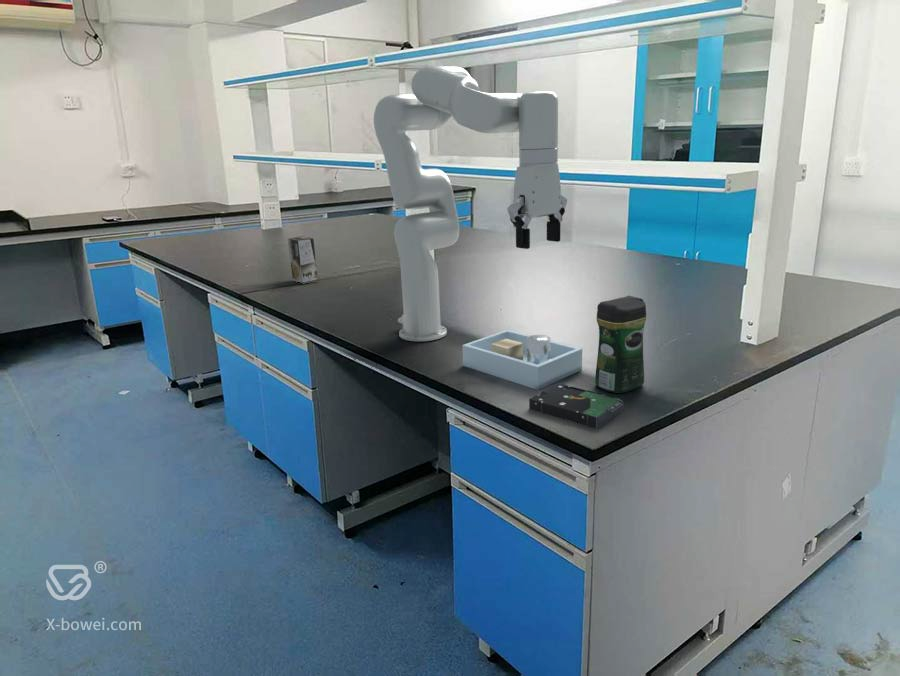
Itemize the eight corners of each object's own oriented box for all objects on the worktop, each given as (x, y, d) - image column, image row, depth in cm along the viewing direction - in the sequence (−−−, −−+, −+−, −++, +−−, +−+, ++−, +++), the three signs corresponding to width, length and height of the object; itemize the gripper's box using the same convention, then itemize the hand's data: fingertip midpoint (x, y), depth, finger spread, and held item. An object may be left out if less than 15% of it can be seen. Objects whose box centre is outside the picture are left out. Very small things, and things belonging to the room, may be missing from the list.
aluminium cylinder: (522, 369, 143) (522, 338, 141) (537, 363, 146) (537, 333, 144) (540, 374, 139) (540, 343, 137) (555, 368, 143) (555, 337, 141)
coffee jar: (621, 375, 140) (625, 290, 134) (650, 386, 133) (655, 298, 128) (587, 385, 135) (589, 298, 130) (615, 397, 129) (618, 306, 123)
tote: (463, 365, 150) (462, 345, 148) (507, 349, 159) (507, 329, 158) (537, 390, 134) (537, 367, 133) (581, 370, 144) (582, 348, 142)
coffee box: (318, 282, 240) (314, 238, 235) (302, 285, 237) (297, 240, 232) (308, 278, 247) (303, 235, 242) (292, 281, 244) (287, 237, 239)
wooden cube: (506, 359, 149) (506, 338, 148) (523, 364, 146) (522, 343, 144) (491, 365, 146) (490, 344, 145) (508, 370, 143) (507, 348, 141)
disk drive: (528, 412, 125) (597, 431, 116) (527, 399, 125) (598, 416, 115) (557, 395, 133) (624, 411, 123) (557, 382, 132) (625, 397, 123)
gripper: (551, 155, 137) (550, 237, 143) (494, 161, 126) (496, 249, 132) (580, 155, 132) (578, 240, 137) (524, 161, 121) (524, 253, 126)
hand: (538, 244), depth 134 cm, fingers open, 9 cm apart
